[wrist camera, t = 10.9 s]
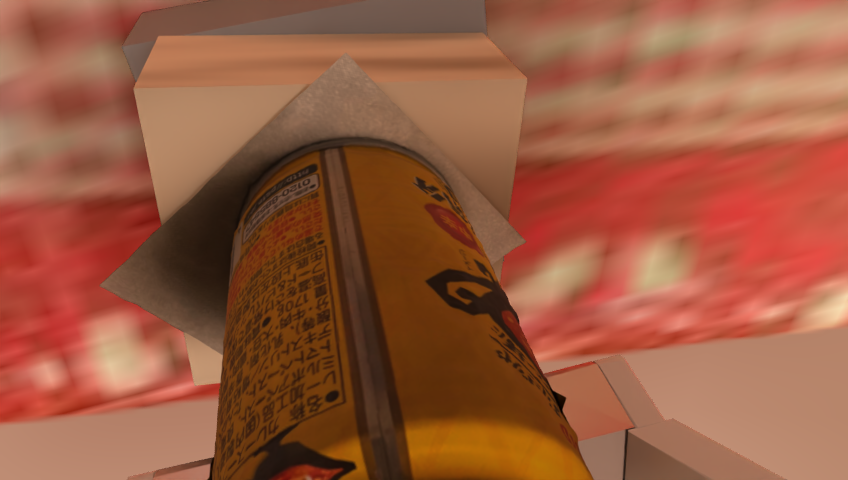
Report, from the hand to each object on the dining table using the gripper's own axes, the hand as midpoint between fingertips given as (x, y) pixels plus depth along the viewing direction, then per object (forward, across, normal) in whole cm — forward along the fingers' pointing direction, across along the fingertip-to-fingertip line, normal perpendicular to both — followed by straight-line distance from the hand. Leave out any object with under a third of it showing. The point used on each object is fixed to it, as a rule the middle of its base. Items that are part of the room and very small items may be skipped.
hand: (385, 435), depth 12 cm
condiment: (+7, +1, 0) cm, 7 cm away
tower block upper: (+11, 0, 0) cm, 11 cm away
